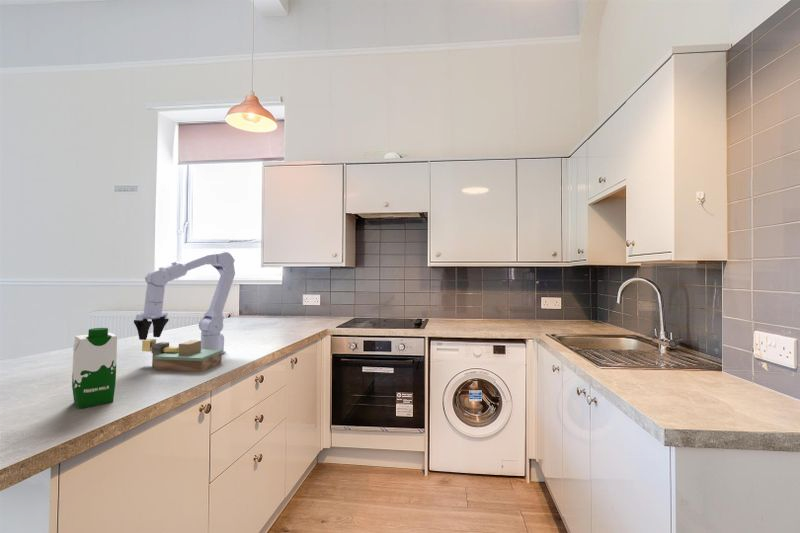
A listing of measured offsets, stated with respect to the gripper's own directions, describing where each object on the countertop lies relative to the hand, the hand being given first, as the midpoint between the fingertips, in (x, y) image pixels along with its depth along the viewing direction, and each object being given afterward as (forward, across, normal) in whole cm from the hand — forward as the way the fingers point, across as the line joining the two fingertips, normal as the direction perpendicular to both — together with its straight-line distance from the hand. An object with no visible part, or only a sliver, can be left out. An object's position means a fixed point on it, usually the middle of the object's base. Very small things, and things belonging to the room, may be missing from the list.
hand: (149, 338), depth 134 cm
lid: (+5, 0, +16) cm, 17 cm away
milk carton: (+12, +37, +12) cm, 40 cm away
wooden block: (+5, 0, +5) cm, 7 cm away
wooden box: (+9, 0, +14) cm, 17 cm away
